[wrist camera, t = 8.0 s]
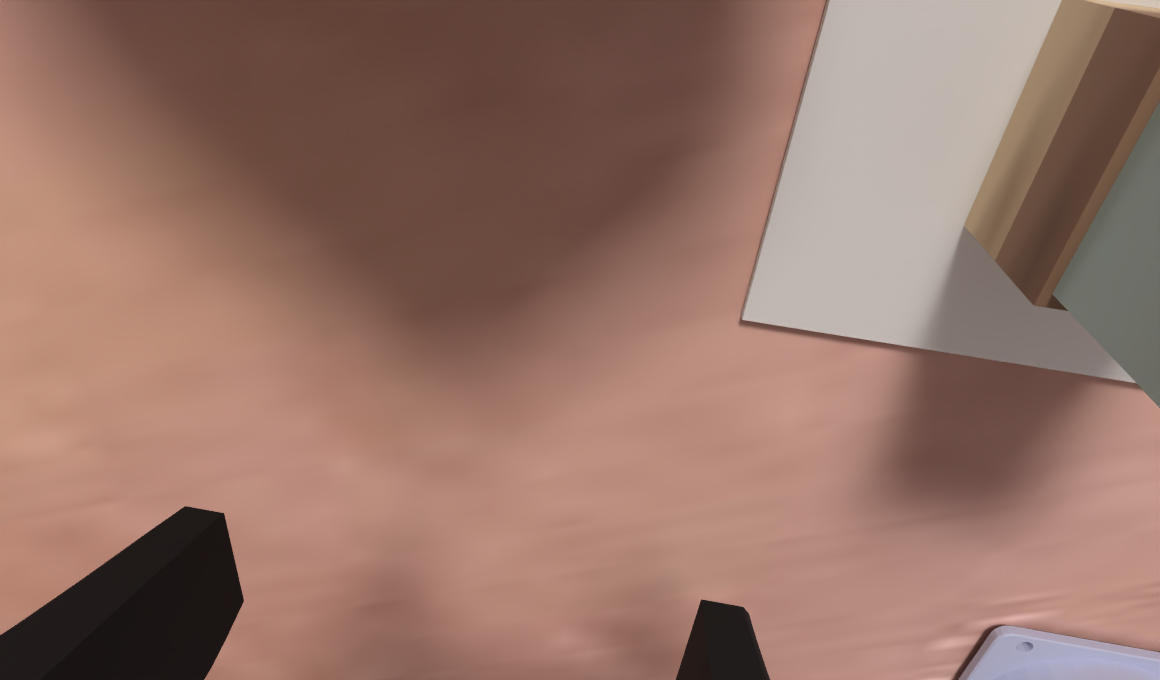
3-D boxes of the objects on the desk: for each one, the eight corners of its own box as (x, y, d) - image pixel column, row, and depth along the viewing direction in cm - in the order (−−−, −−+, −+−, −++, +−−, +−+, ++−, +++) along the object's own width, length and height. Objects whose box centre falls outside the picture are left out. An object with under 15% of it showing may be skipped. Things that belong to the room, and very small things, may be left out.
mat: (1719, -156, 12) (1740, -157, 12) (1272, 399, 18) (1280, 406, 18) (895, -254, 13) (900, -257, 12) (741, 314, 19) (742, 319, 19)
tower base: (1321, 30, 14) (1409, 46, 12) (1178, 257, 17) (1234, 297, 15) (1064, -5, 14) (1115, 7, 12) (963, 225, 17) (994, 261, 15)
